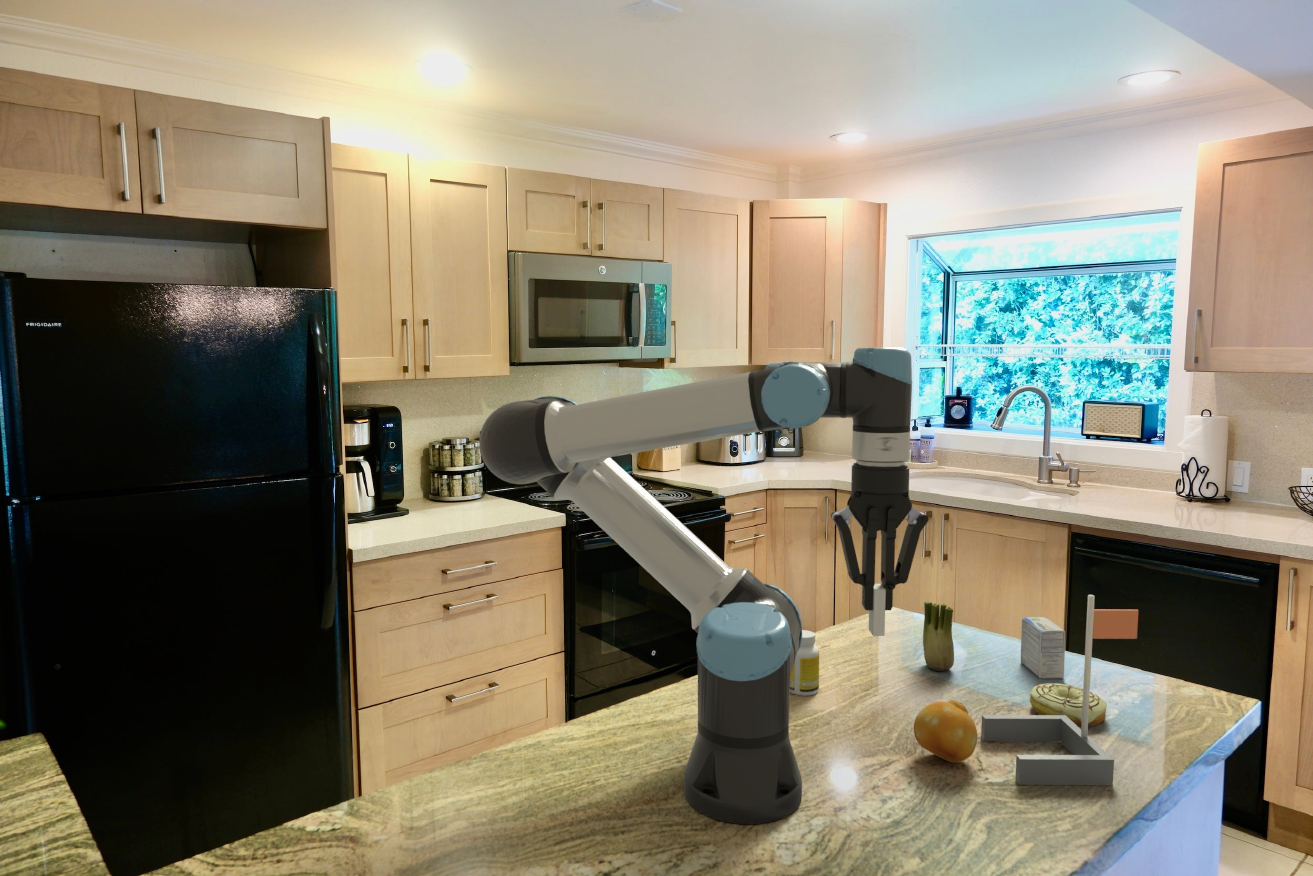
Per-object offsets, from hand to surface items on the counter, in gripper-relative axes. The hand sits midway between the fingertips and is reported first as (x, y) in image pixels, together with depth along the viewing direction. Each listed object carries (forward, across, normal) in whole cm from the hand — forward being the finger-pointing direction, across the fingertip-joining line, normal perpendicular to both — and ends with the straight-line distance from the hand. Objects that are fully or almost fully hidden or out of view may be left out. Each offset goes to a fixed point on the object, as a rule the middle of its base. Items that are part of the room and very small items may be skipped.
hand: (876, 632), depth 114 cm
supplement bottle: (+19, -6, +24) cm, 31 cm away
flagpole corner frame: (+18, +26, 0) cm, 32 cm away
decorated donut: (+19, +34, +15) cm, 42 cm away
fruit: (+19, +10, 0) cm, 21 cm away
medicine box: (+19, +38, +33) cm, 54 cm away
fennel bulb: (+19, +20, +34) cm, 44 cm away
